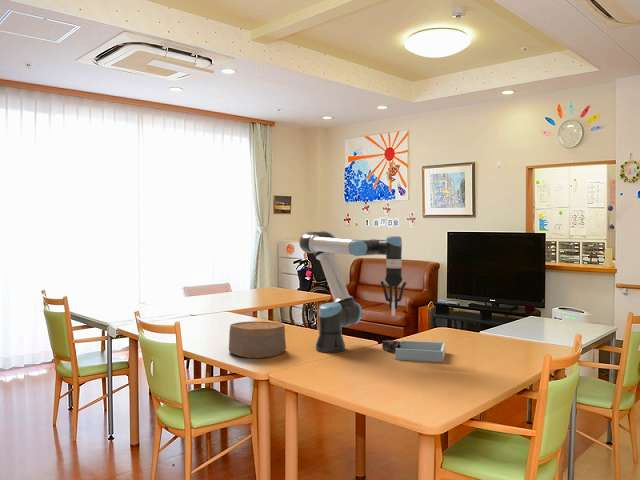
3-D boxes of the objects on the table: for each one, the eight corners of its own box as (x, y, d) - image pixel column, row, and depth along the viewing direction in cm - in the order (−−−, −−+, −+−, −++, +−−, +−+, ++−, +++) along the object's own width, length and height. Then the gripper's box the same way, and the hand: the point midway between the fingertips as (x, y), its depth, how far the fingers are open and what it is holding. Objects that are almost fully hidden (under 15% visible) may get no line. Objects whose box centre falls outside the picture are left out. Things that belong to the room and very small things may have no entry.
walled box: (395, 359, 257) (395, 348, 257) (400, 350, 277) (400, 340, 277) (442, 362, 251) (442, 351, 251) (445, 352, 271) (445, 342, 271)
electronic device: (390, 343, 270) (404, 341, 273) (381, 340, 279) (394, 338, 281) (391, 352, 270) (404, 350, 273) (382, 348, 279) (394, 346, 282)
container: (294, 350, 279) (293, 321, 279) (266, 362, 254) (266, 330, 254) (248, 345, 291) (247, 317, 290) (217, 356, 266) (217, 326, 265)
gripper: (379, 267, 265) (379, 315, 266) (406, 268, 261) (405, 317, 262) (381, 266, 272) (381, 313, 273) (408, 267, 268) (407, 314, 269)
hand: (393, 315), depth 267 cm, fingers closed
